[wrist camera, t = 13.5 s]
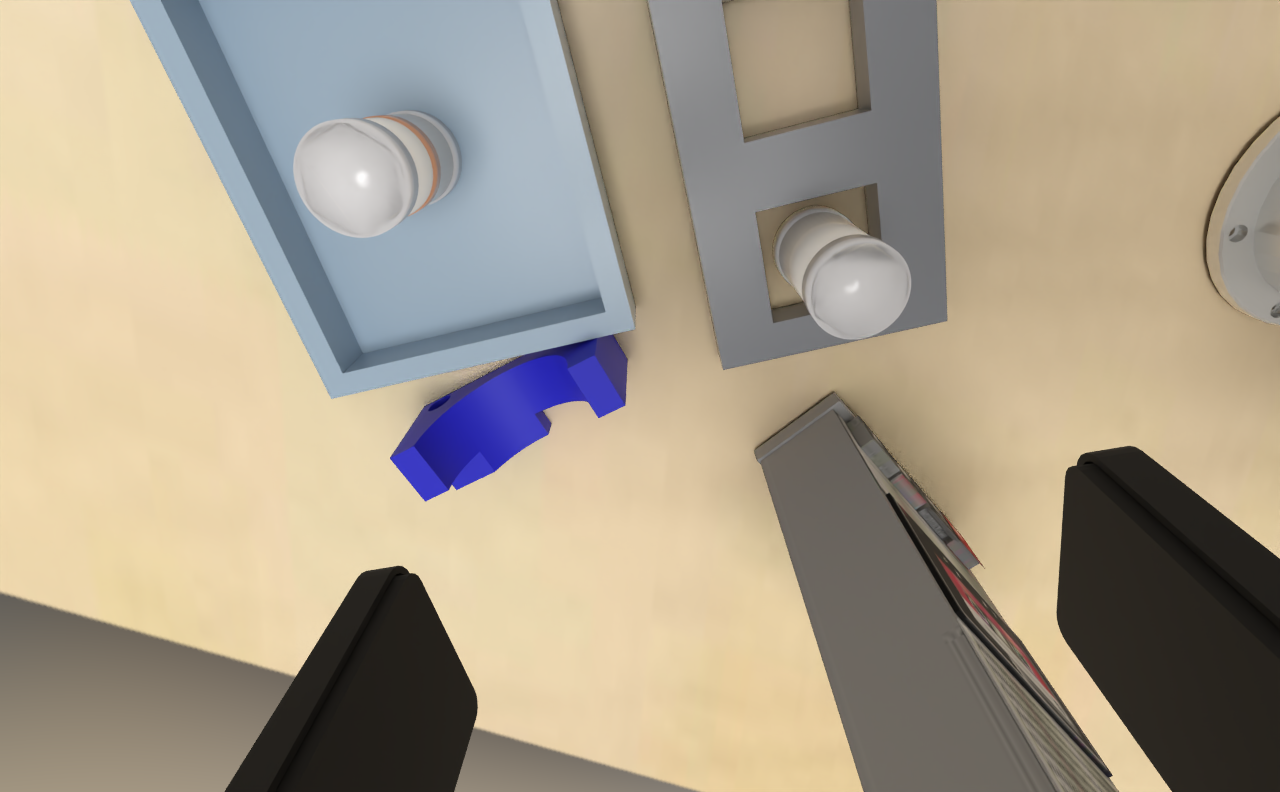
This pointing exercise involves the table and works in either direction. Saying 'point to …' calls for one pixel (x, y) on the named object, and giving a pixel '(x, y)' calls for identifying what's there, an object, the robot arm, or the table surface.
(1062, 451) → the table surface
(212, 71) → the tray
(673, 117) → the fuse holder
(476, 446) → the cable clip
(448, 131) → the marked fuse
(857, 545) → the cassette tape recorder
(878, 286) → the cylinder
